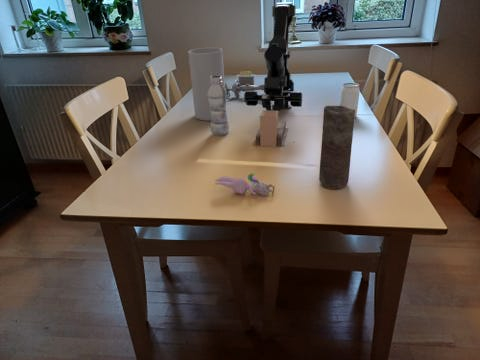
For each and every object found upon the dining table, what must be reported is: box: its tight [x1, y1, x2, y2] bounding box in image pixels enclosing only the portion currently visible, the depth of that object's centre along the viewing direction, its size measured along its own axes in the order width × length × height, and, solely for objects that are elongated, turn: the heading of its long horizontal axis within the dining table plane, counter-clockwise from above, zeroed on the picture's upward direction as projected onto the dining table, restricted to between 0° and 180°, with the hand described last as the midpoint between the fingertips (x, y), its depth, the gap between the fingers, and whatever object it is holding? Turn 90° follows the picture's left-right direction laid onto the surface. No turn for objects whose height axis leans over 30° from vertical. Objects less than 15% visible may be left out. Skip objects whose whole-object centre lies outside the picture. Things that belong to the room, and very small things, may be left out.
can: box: [339, 82, 360, 118], centre depth 131 cm, size 6×6×12 cm
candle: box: [318, 105, 356, 190], centre depth 86 cm, size 8×7×20 cm
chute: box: [252, 119, 289, 148], centre depth 117 cm, size 16×10×4 cm, turn 168°
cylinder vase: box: [188, 47, 226, 122], centre depth 135 cm, size 12×12×25 cm
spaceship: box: [224, 79, 264, 99], centre depth 161 cm, size 8×35×8 cm
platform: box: [236, 70, 257, 85], centre depth 183 cm, size 12×18×7 cm, turn 77°
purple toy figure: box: [214, 173, 276, 197], centre depth 87 cm, size 6×6×15 cm
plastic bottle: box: [208, 76, 230, 137], centre depth 118 cm, size 6×7×20 cm
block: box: [259, 109, 279, 148], centre depth 110 cm, size 5×5×10 cm
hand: (271, 122), depth 114 cm, fingers closed
